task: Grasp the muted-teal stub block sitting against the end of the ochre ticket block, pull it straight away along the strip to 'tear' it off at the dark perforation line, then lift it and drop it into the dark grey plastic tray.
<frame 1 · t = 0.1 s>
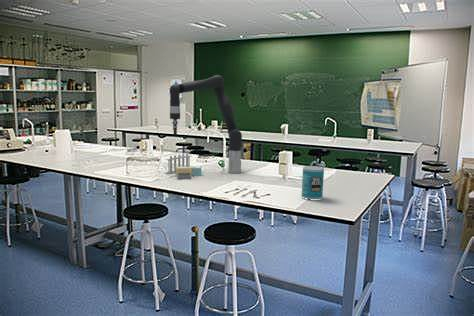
hand: (175, 134, 273), 29 cm above the lab bench, fingers open, 8 cm apart
food can: (311, 198, 217), on the lab bench
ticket: (184, 175, 270), on the lab bench
test tube rack: (179, 171, 285), on the lab bench
stub: (197, 175, 272), on the lab bench
tray: (184, 177, 263), on the lab bench
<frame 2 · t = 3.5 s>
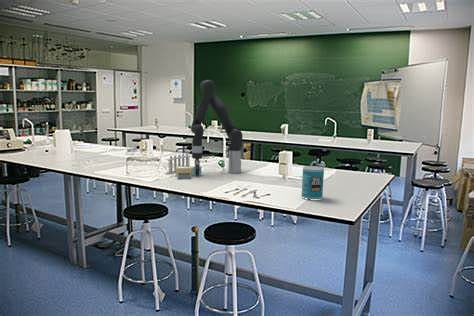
hand: (197, 174, 271), 1 cm above the lab bench, fingers closed on stub, 5 cm apart
stub: (197, 175, 272), on the lab bench, touching gripper
everything else where it was.
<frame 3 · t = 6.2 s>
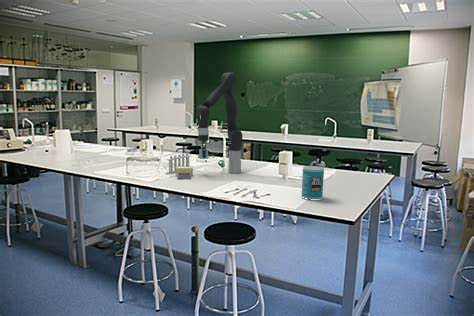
hand: (203, 157, 270), 14 cm above the lab bench, fingers closed on stub, 5 cm apart
stub: (203, 158, 270), point 13 cm above the lab bench, touching gripper
everything else where it was.
when the fingers open (3 cm above the lab bench, at t = 9.0 s): stub drops 2 cm, resting on tray.
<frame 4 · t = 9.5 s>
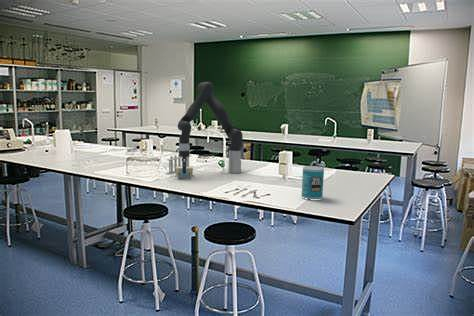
hand: (184, 172, 261), 4 cm above the lab bench, fingers open, 8 cm apart
stub: (184, 176, 263), point 1 cm above the lab bench, touching tray
everything else where it was.
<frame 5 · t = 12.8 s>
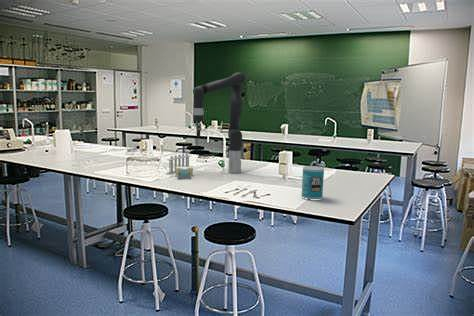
hand: (198, 136, 272), 28 cm above the lab bench, fingers open, 8 cm apart
nothing on the lab bench moved.
at the end: stub inside the target area on the tray (0.1 cm from its centre), point 0.6 cm above the tray's base; stub touching tray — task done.
